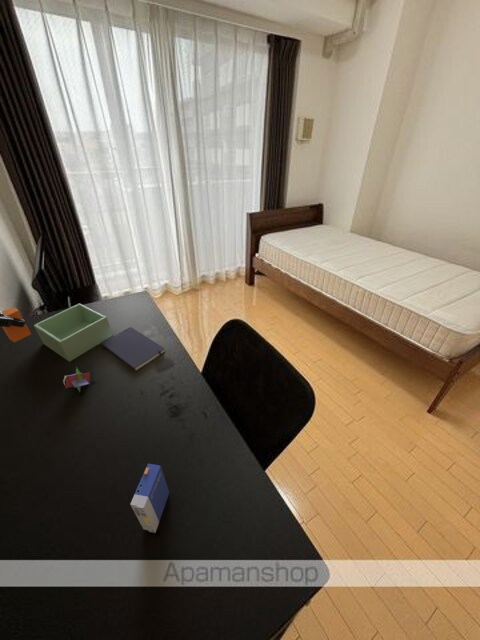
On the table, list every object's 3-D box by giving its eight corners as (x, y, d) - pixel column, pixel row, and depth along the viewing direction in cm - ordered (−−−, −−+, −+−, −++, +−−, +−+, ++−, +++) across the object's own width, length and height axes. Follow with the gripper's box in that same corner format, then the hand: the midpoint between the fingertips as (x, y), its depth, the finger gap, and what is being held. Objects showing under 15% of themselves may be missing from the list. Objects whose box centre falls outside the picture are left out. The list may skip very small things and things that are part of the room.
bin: (43, 343, 107) (33, 325, 101) (86, 321, 118) (79, 303, 113) (69, 361, 98) (59, 342, 93) (112, 335, 110) (106, 316, 105)
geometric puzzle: (92, 367, 93) (69, 360, 86) (100, 378, 89) (77, 372, 82) (78, 386, 92) (54, 380, 86) (86, 398, 88) (62, 393, 82)
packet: (8, 338, 88) (-6, 314, 83) (26, 330, 92) (13, 307, 86) (14, 342, 87) (-1, 318, 81) (31, 334, 90) (18, 310, 85)
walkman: (158, 490, 64) (147, 462, 57) (169, 492, 64) (160, 464, 57) (142, 531, 58) (128, 505, 51) (155, 533, 57) (142, 508, 50)
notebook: (101, 345, 105) (135, 371, 94) (100, 342, 104) (134, 368, 93) (131, 329, 113) (165, 351, 102) (130, 326, 112) (165, 348, 101)
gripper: (-35, 300, 70) (37, 317, 85) (-55, 285, 76) (15, 303, 91) (-49, 328, 69) (26, 340, 84) (-68, 311, 76) (5, 325, 91)
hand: (20, 321), depth 88 cm, fingers closed on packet, 3 cm apart
